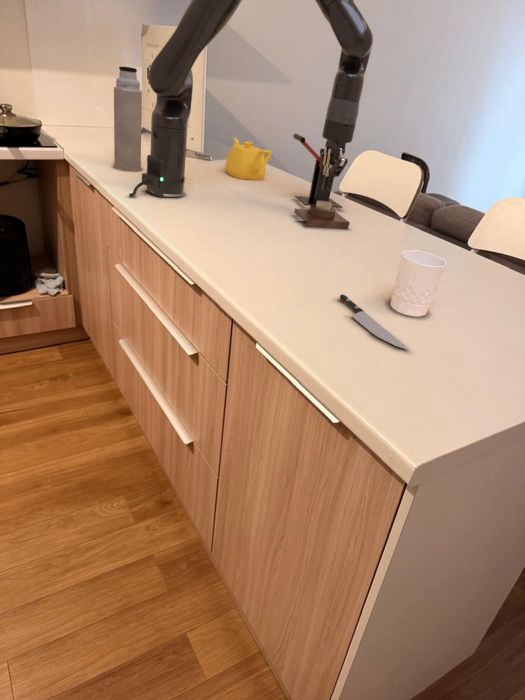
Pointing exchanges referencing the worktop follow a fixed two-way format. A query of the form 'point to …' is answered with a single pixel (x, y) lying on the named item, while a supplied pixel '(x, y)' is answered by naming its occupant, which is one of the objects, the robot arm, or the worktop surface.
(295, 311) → the worktop surface
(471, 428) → the worktop surface
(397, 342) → the chef's knife
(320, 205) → the button
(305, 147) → the lever
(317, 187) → the bracket
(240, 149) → the teapot
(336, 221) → the button block
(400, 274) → the white cup
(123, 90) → the thermos bottle
